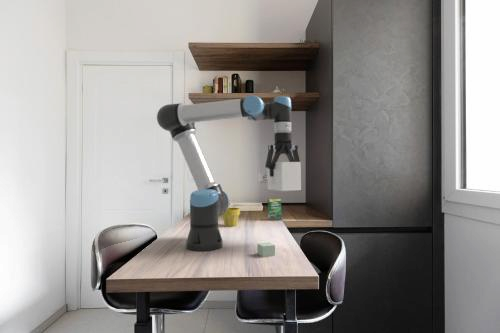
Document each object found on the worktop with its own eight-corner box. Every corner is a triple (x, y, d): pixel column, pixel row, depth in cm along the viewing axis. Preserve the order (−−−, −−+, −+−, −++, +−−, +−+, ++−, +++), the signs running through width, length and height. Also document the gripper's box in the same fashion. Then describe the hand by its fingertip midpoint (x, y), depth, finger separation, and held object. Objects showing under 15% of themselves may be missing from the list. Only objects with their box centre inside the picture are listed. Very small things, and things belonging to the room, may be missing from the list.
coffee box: (268, 220, 201) (268, 199, 201) (267, 219, 203) (267, 198, 203) (281, 220, 202) (281, 199, 202) (280, 219, 205) (280, 198, 205)
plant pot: (229, 228, 176) (229, 210, 176) (217, 225, 184) (217, 208, 184) (243, 225, 183) (243, 208, 183) (232, 223, 191) (232, 206, 191)
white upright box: (282, 191, 135) (281, 162, 135) (267, 189, 147) (267, 162, 147) (301, 190, 139) (300, 161, 139) (285, 188, 151) (284, 162, 151)
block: (262, 257, 120) (262, 246, 120) (257, 253, 125) (257, 243, 125) (275, 255, 122) (275, 245, 122) (269, 252, 127) (269, 242, 127)
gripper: (264, 130, 135) (265, 185, 135) (308, 132, 144) (309, 183, 144) (256, 132, 142) (257, 184, 142) (299, 134, 151) (300, 182, 151)
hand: (283, 183), depth 143 cm, fingers closed on white upright box, 9 cm apart
